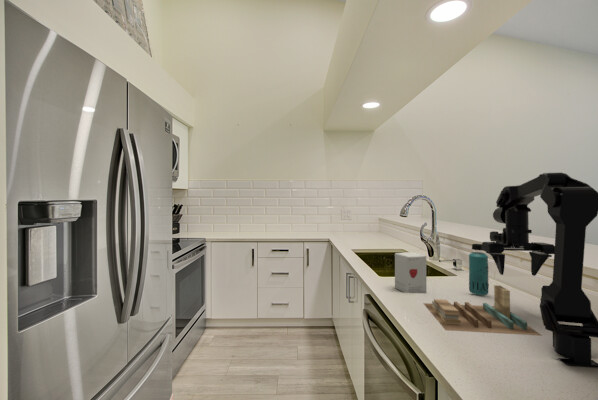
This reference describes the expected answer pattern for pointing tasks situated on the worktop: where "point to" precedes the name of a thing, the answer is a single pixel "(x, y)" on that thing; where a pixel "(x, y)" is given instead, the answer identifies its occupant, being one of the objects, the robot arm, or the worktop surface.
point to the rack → (485, 320)
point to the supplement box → (410, 272)
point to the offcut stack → (446, 311)
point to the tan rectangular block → (502, 300)
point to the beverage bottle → (478, 271)
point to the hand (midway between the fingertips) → (517, 274)
